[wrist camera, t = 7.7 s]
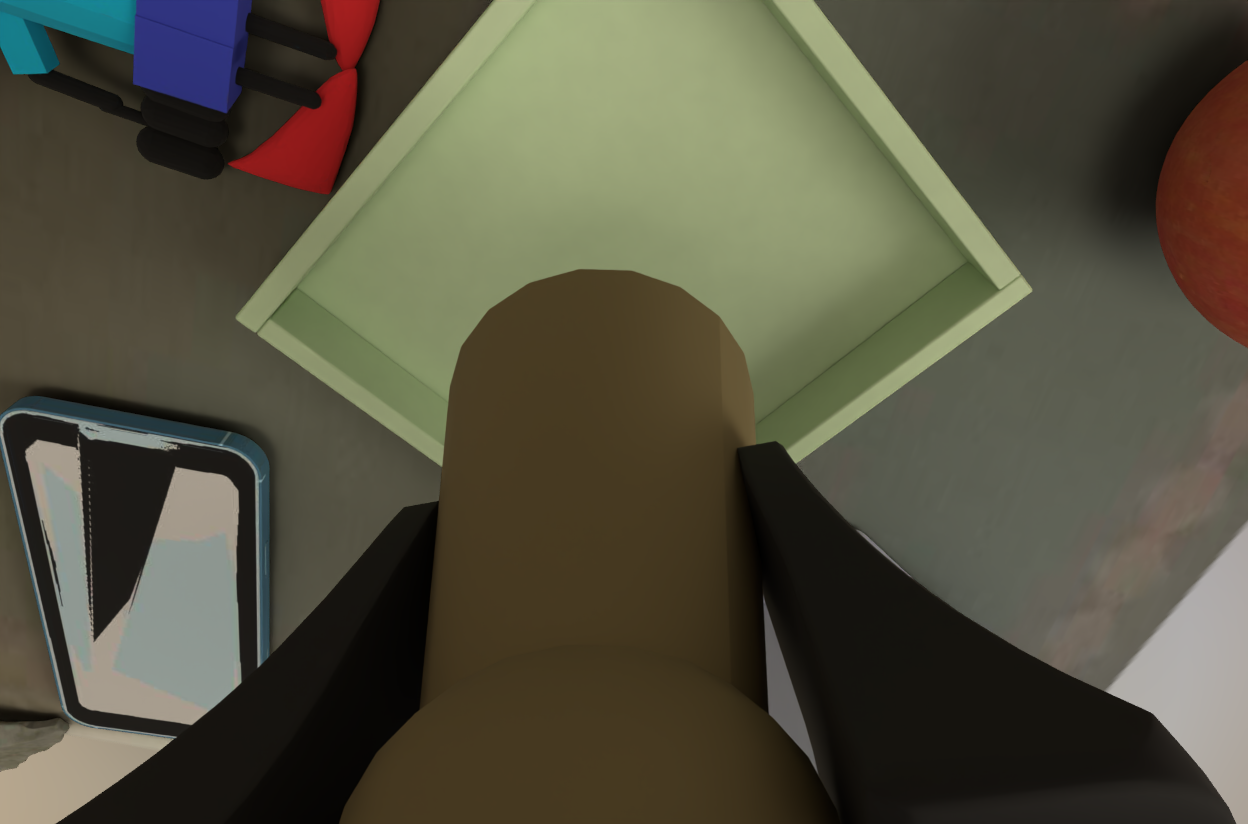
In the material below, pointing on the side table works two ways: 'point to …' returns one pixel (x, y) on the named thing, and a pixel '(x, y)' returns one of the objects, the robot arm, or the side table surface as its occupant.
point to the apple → (1210, 206)
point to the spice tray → (645, 210)
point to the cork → (595, 580)
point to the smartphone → (141, 559)
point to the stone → (28, 739)
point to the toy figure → (203, 77)
